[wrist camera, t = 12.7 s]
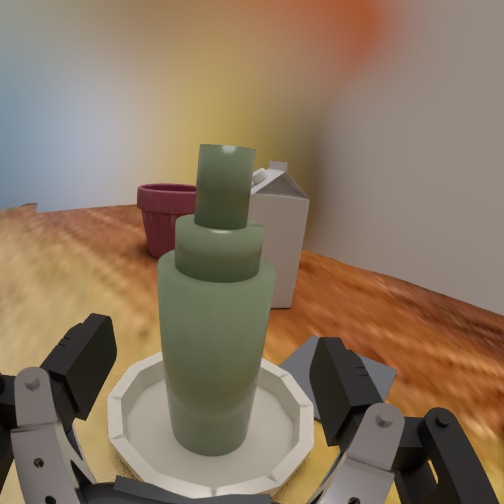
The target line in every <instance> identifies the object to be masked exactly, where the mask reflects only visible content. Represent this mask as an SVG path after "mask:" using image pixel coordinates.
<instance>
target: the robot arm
mask: <svg viewBox="0 0 504 504" xmlns="http://www.w3.org/2000/svg"><path fill="white" fill-rule="evenodd" d="M116 356H117V347H116V341H115V336H114V331H113V325H112V320H111V318H110V317H109V316H105V315H100V314H95V313H92V314H90V315H89V317H88V318H87V319H86V320H85V321H84V323H79V324H77V325H76V326H74V327H72V328H71V329H69V331H68V332H67V333H66V334H65V335H64V337H63V338H62V339H61V340H60V341H59V343H58V345H56V346H55V348H54V349H53V350H52V351H51V353H50V354H49V355H48V357H47V358H46V359H45V360H44V362H43V363H42V364H41V366H40V367H29V368H26V369H24V370H22V371H21V372H19V373H18V375H17V376H9V375H2V374H1V373H0V494H1V491H2V488H3V485H4V483H5V480H6V477H7V474H8V472H9V469H10V467H11V464H12V462H13V459H14V460H15V465H16V470H17V474H18V479H19V483H20V487H21V490H22V494H23V497H24V501H25V504H280V503H276V502H271V496H270V494H228V495H221V496H213V497H205V498H187V497H184V496H181V495H178V494H176V493H173V492H170V491H168V490H165V489H163V488H161V487H158V486H156V485H154V484H150V483H146V482H141V481H137V480H133V479H129V478H126V477H122V476H119V475H117V476H116V480H115V483H114V482H105V483H98V482H97V481H96V479H95V477H94V475H93V474H92V472H91V470H90V469H89V467H88V464H87V462H86V459H85V457H84V454H83V451H82V449H81V446H80V443H79V440H78V437H77V434H76V431H75V428H74V425H73V424H72V423H73V421H74V419H75V417H76V418H78V419H81V420H84V421H86V419H87V417H88V415H89V413H90V411H91V409H92V407H93V405H94V402H95V400H96V398H97V396H98V394H99V392H100V390H101V388H102V386H103V384H104V382H105V380H106V378H107V376H108V374H109V372H110V371H111V369H112V367H113V365H114V363H115V360H116ZM309 380H310V384H311V388H312V391H313V395H314V398H315V402H316V405H317V409H318V412H319V416H320V420H321V423H322V427H323V430H324V434H325V438H326V441H327V445H328V447H329V446H337V445H339V448H340V452H339V454H338V455H337V457H336V459H335V461H334V462H333V464H332V466H331V467H330V469H329V471H328V472H327V474H326V476H325V477H324V479H323V480H322V482H321V484H320V485H319V487H318V488H317V490H316V491H315V493H314V494H313V495H312V496H311V498H310V499H309V500H308V502H307V503H306V504H384V503H385V500H386V498H387V495H388V493H389V490H390V488H391V485H392V483H393V480H394V482H395V485H396V488H397V491H398V495H399V498H400V501H401V504H499V502H498V499H497V497H496V495H495V492H494V490H493V488H492V486H491V484H490V481H489V479H488V477H487V475H486V473H485V471H484V469H483V467H482V465H481V463H480V461H479V459H478V457H477V455H476V453H475V451H474V449H473V447H472V445H471V444H470V442H469V440H468V438H467V436H466V435H465V433H464V431H463V429H462V427H461V426H460V424H459V422H458V420H457V419H456V417H455V416H454V414H453V413H451V412H450V411H449V410H447V409H444V408H440V407H436V408H432V409H430V410H429V411H428V412H427V414H426V415H425V416H424V418H419V417H405V416H403V414H402V412H401V411H400V410H399V409H398V408H396V407H395V406H393V405H391V404H387V403H384V402H383V400H382V398H381V396H380V394H379V392H378V390H377V388H376V386H375V384H374V382H373V381H372V379H371V377H370V376H369V373H368V371H367V369H365V366H364V364H363V362H362V360H361V358H360V357H359V356H358V355H357V354H356V353H354V352H353V351H352V350H346V348H345V346H344V344H343V342H342V340H341V339H340V338H339V337H320V338H319V340H318V343H317V346H316V349H315V353H314V356H313V359H312V362H311V366H310V370H309ZM429 460H431V462H432V465H433V467H434V469H435V472H436V474H437V477H438V485H437V483H436V480H435V478H434V475H433V473H432V470H431V468H430V465H429V463H428V461H429Z"/></svg>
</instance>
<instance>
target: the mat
mask: <svg viewBox="0 0 504 504" xmlns="http://www.w3.org/2000/svg"><path fill="white" fill-rule="evenodd" d="M319 338H320V337H317V336H315V335H312V336H311V337H310V338H309V339H308V340H307V341H306V342H305V343H304V344H303V345H302V346H301V347H300V348H298V349H297V350H296V351H295V352H294V353H293V354H292V355H291V356H290V357H289V358H287V359H286V360H285V361H284V362H283V363H282V364H281V365H279V366H278V367H280V368H281V369H283V370H285V371H287V372H289V373H290V374H291V375H292V377H293V378H294V380H295V381H296V382H297V384H298V385H299V386H300V388H301V389H302V390H303V392H304V393H305V394H306V396H307V397H308V398H309V400H310V401H311V402H312V404H313V408H314V419H315V420H317V421H319V422H321V420H320V416H319V412H318V409H317V405H316V402H315V398H314V395H313V391H312V388H311V384H310V380H309V370H310V366H311V362H312V359H313V356H314V353H315V349H316V346H317V343H318V340H319ZM346 350H347V349H346ZM356 354H357V353H356ZM357 355H358V356H359V357H360V358H361V360H362V362H363V364H364V366H365V369H367V371H368V373H369V376H370V377H371V379H372V381H373V382H374V384H375V386H376V388H377V390H378V392H379V394H380V396H381V398H382V400H383V402H385V399H386V397H387V394H388V392H389V390H390V387H391V385H392V382H393V379H394V377H395V374H396V371H397V370H396V369H393V368H391V367H388V366H386V365H383V364H381V363H378V362H376V361H373V360H371V359H369V358H366V357H364V356H361V355H359V354H357Z"/></svg>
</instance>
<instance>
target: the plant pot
mask: <svg viewBox="0 0 504 504" xmlns="http://www.w3.org/2000/svg"><path fill="white" fill-rule="evenodd" d="M195 195H196V186H193V185H184V184H146V185H141V186H139V187H138V193H137V207H138V208H140V209H141V210H142V216H143V222H144V227H145V232H146V237H147V241H148V245H149V250H150V253H151V254H152V255H153V256H154V257H157V258H160V257H162V256H163V255H164V254H166V253H167V252H170V251H172V250H175V226H176V219H177V218H179V217H181V216H185V215H190V214H194V208H195Z"/></svg>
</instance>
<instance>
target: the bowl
mask: <svg viewBox="0 0 504 504" xmlns="http://www.w3.org/2000/svg"><path fill="white" fill-rule="evenodd" d="M107 398H108V430H109V440H110V442H111V444H112V446H113V448H114V450H115V452H116V453H117V455H118V456H119V458H120V459H121V460H122V461H123V462H124V464H125V465H126V466H127V467H128V469H129V470H130V471H131V472H132V474H133V475H134V476H135V478H136V479H137V480H138V481H141V482H146V483H150V484H154V485H156V486H158V487H161V488H163V489H165V490H168V491H170V492H173V493H176V494H178V495H181V496H184V497H187V498H205V497H213V496H221V495H228V494H270V496H271V497H273V496H275V495H276V494H277V493H278V491H279V490H280V489H281V488H282V487H283V486H284V485H285V484H286V483H287V482H288V481H289V480H290V479H291V477H292V476H293V475H294V473H295V472H296V471H297V470H298V469H299V467H300V466H301V465H302V464H303V463H304V461H305V460H306V458H307V457H308V455H309V453H310V452H311V450H312V448H313V447H314V408H313V404H312V402H311V401H310V400H309V398H308V397H307V396H306V394H305V393H304V392H303V390H302V389H301V388H300V386H299V385H298V384H297V382H296V381H295V380H294V378H293V377H292V375H291V374H290V373H289V372H287V371H285V370H283V369H281V368H280V367H278V366H276V365H274V364H272V363H270V362H268V361H267V360H265V359H263V358H262V360H261V365H260V371H259V376H258V381H257V387H256V392H255V397H254V402H253V407H252V412H251V417H250V422H249V427H248V432H247V436H246V439H245V440H244V442H243V443H242V445H241V446H240V447H239V448H237V449H236V450H235V451H233V452H231V453H228V454H226V455H222V456H213V457H210V456H202V455H198V454H195V453H193V452H190V451H189V450H187V449H185V448H184V447H183V446H182V445H181V444H180V443H179V442H178V441H177V440H176V438H175V436H174V434H173V431H172V425H171V419H170V413H169V406H168V399H167V392H166V384H165V376H164V367H163V357H162V351H161V352H159V353H156V354H154V355H152V356H150V357H148V358H146V359H144V360H141V361H139V362H137V363H135V364H133V365H131V366H130V367H129V368H128V370H127V371H126V372H125V374H124V375H123V376H122V378H121V379H120V380H119V382H118V383H117V384H116V386H115V387H114V388H113V390H112V391H111V392H110V394H109V395H108V397H107Z"/></svg>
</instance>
